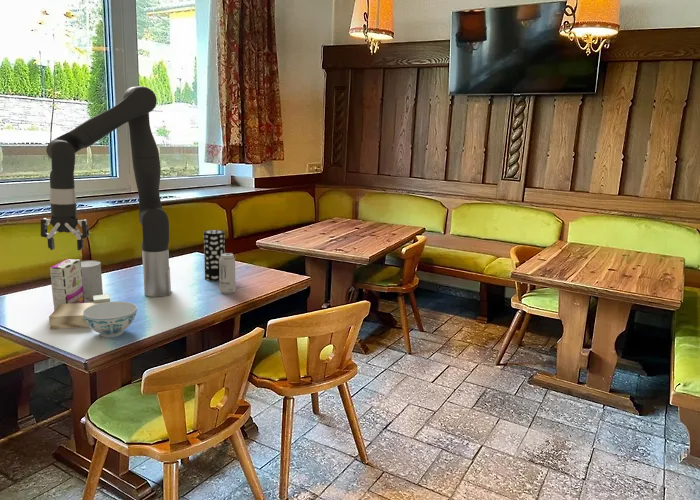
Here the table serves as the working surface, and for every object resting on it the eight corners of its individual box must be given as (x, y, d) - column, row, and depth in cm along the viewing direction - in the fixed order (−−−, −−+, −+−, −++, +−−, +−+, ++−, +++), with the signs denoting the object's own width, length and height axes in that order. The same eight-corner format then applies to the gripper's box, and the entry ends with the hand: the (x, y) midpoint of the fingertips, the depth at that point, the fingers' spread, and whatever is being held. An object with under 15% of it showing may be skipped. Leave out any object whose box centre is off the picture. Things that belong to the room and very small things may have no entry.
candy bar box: (71, 303, 187) (67, 258, 183) (85, 304, 187) (81, 259, 183) (53, 314, 176) (48, 267, 172) (68, 315, 176) (63, 267, 172)
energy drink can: (216, 292, 205) (215, 255, 201) (226, 288, 210) (226, 251, 206) (228, 295, 202) (227, 257, 198) (238, 291, 207) (238, 254, 204)
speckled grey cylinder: (91, 301, 190) (89, 268, 187) (68, 298, 192) (65, 265, 189) (108, 293, 199) (106, 261, 196) (86, 290, 201) (83, 259, 198)
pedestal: (100, 313, 178) (99, 302, 177) (92, 326, 167) (91, 315, 166) (61, 315, 175) (60, 303, 175) (50, 328, 164) (48, 316, 163)
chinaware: (76, 342, 155) (73, 317, 153) (97, 323, 170) (95, 300, 168) (128, 343, 156) (126, 318, 154) (144, 324, 171) (143, 301, 169)
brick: (109, 307, 184) (108, 294, 183) (111, 312, 180) (110, 298, 179) (94, 309, 182) (93, 295, 181) (94, 314, 178) (93, 300, 177)
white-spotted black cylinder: (229, 278, 224) (228, 231, 219) (214, 282, 217) (213, 234, 212) (215, 274, 228) (214, 229, 224) (200, 278, 221) (199, 232, 217)
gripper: (90, 201, 179) (92, 247, 182) (44, 199, 176) (47, 246, 180) (82, 204, 172) (85, 252, 175) (35, 202, 169) (38, 251, 173)
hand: (66, 249), depth 177 cm, fingers open, 8 cm apart
